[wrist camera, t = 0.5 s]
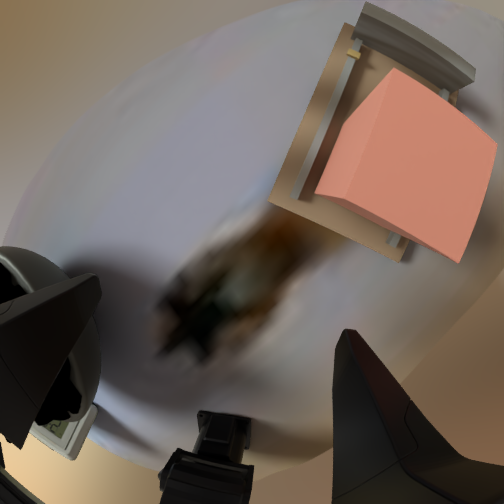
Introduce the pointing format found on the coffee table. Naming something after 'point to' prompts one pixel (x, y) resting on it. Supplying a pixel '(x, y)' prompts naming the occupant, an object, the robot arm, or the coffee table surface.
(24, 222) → the coffee table surface
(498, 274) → the coffee table surface
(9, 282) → the bowl of black rocks
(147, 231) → the coffee table surface
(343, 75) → the base
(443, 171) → the salmon pink rectangular block
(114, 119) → the coffee table surface
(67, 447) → the digital clock
